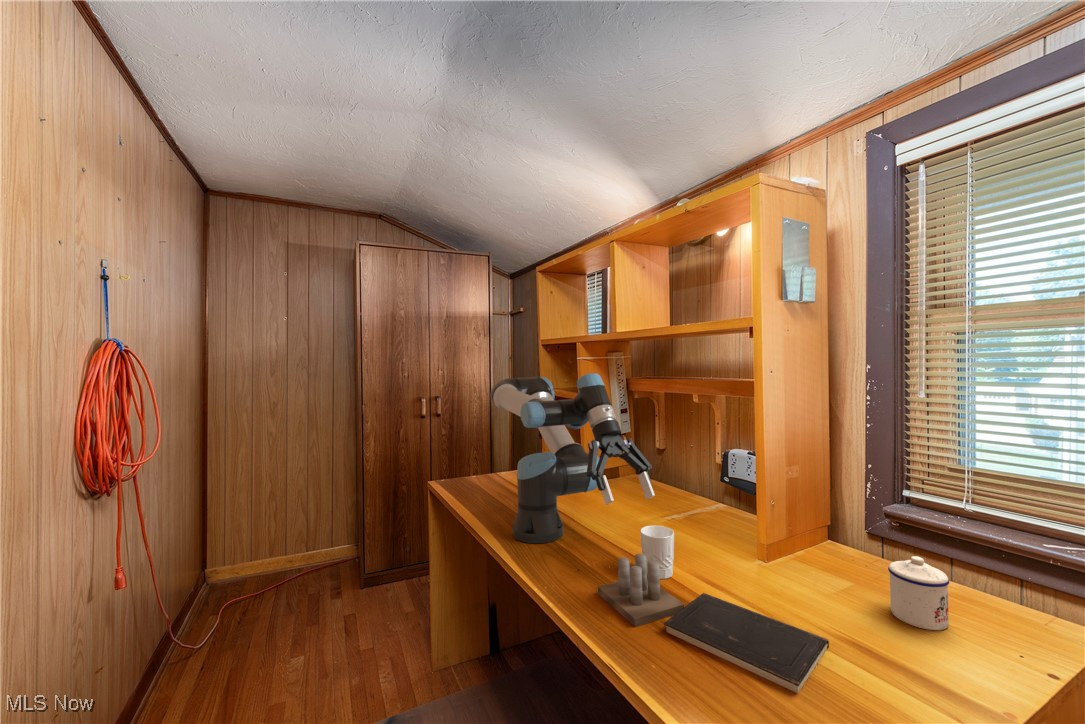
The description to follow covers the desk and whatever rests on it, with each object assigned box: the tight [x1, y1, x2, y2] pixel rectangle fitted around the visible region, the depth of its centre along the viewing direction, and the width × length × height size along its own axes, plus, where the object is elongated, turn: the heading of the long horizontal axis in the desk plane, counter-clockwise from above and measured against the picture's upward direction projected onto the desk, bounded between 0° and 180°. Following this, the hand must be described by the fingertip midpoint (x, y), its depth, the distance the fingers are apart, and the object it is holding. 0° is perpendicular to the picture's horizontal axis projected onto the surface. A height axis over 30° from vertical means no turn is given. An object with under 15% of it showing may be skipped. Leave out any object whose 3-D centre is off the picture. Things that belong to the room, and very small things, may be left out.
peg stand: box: [597, 553, 685, 628], centre depth 95 cm, size 14×12×8 cm
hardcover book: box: [663, 592, 830, 694], centre depth 82 cm, size 16×23×2 cm
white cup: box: [639, 525, 675, 580], centre depth 108 cm, size 8×8×10 cm
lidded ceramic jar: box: [887, 555, 950, 631], centre depth 88 cm, size 12×9×12 cm
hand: (630, 500), depth 114 cm, fingers open, 13 cm apart
